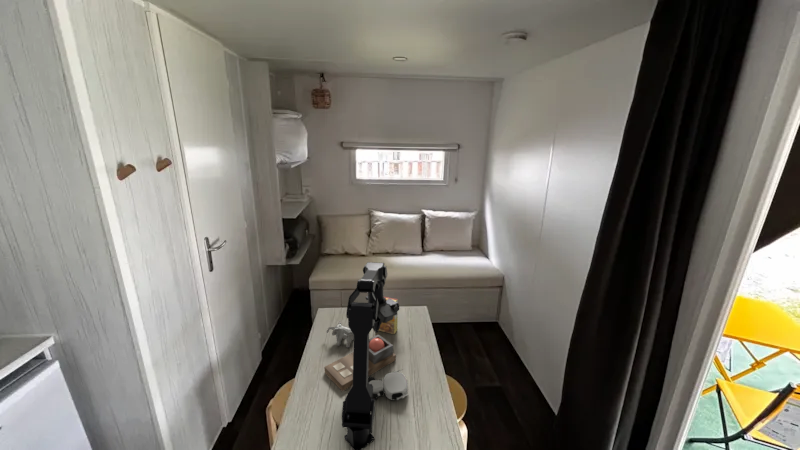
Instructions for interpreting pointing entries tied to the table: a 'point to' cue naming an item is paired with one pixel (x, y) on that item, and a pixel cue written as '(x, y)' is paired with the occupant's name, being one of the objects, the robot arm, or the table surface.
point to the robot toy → (390, 386)
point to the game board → (343, 367)
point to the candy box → (390, 322)
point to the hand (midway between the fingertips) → (376, 332)
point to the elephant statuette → (342, 334)
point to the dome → (376, 344)
